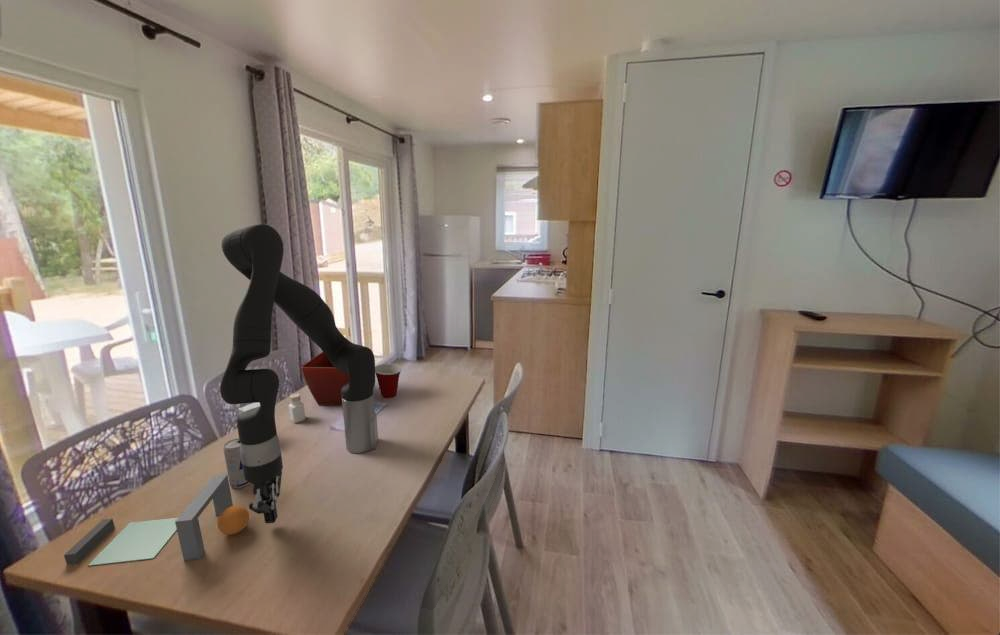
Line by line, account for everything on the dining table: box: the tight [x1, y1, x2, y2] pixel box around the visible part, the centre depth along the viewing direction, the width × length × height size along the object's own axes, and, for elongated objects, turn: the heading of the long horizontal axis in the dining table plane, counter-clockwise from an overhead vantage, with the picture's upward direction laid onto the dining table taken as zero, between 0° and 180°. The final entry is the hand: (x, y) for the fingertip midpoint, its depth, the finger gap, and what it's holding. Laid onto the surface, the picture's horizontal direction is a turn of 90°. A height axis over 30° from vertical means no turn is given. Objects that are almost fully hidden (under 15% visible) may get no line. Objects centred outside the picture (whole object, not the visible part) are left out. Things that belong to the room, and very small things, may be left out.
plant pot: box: [300, 351, 349, 406], centre depth 156 cm, size 19×19×17 cm
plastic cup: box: [375, 363, 403, 399], centre depth 160 cm, size 11×11×12 cm
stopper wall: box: [63, 518, 116, 566], centre depth 87 cm, size 2×10×2 cm, turn 9°
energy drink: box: [223, 437, 251, 489], centre depth 106 cm, size 5×5×12 cm
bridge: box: [175, 474, 234, 561], centre depth 90 cm, size 3×15×10 cm, turn 10°
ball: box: [216, 504, 250, 536], centre depth 91 cm, size 6×6×6 cm
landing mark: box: [87, 517, 179, 567], centre depth 88 cm, size 12×12×1 cm
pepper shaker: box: [288, 393, 306, 424], centre depth 140 cm, size 4×4×10 cm
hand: (271, 520), depth 92 cm, fingers closed
